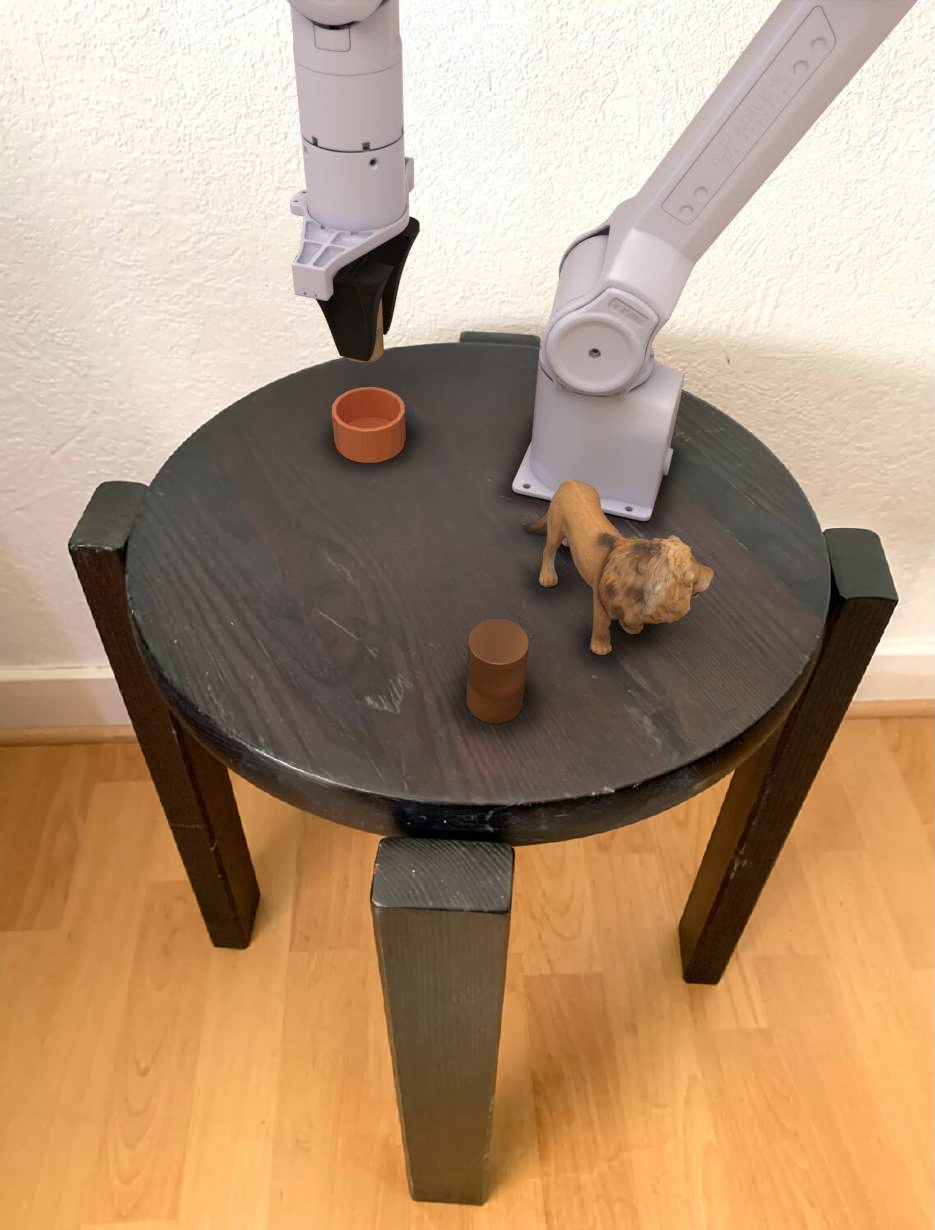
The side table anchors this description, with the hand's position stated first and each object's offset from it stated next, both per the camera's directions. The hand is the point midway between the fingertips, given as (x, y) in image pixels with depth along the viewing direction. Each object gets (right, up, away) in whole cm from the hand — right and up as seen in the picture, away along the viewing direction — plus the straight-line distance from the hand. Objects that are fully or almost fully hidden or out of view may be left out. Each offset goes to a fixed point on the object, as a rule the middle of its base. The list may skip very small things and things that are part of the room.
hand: (364, 342), depth 68 cm
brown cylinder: (+8, -23, -9) cm, 26 cm away
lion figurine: (+15, -17, -4) cm, 23 cm away
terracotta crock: (0, -5, +6) cm, 8 cm away
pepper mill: (0, 0, +1) cm, 1 cm away
